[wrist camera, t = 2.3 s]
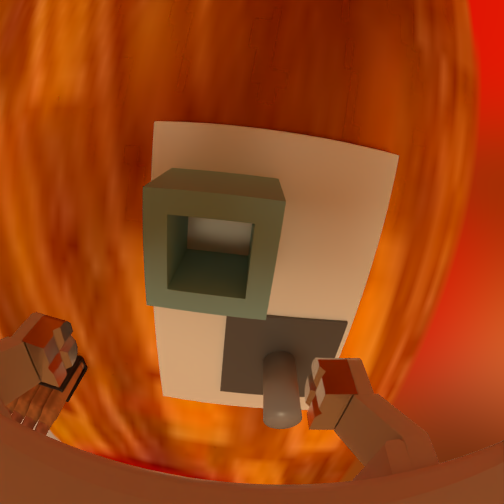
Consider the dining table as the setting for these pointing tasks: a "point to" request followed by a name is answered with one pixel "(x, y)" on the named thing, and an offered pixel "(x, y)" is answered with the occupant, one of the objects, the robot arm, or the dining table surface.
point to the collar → (207, 262)
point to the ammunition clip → (46, 400)
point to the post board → (286, 269)
